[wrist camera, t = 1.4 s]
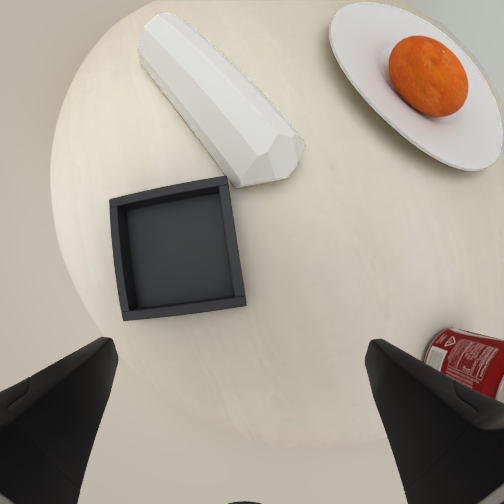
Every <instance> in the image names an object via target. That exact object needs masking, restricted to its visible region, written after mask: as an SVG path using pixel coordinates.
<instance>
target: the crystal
mask: <svg viewBox="0 0 504 504" xmlns="http://www.w3.org/2000/svg"><path fill="white" fill-rule="evenodd" d="M137 50H138V53H139V57H140V60H141V64H142V66H143V68H144V69H145V70H146V71H147V73H148V74H149V75H150V76H151V78H152V79H153V80H154V81H155V83H156V84H157V85H158V87H159V88H160V89H161V90H162V92H163V93H164V94H165V96H166V97H167V98H168V99H169V101H170V102H171V103H172V105H173V106H174V107H175V108H176V110H177V111H178V112H179V114H180V115H181V116H182V118H183V119H184V120H185V121H186V123H187V124H188V125H189V127H190V128H191V129H192V131H193V132H194V133H195V135H196V136H197V137H198V139H199V140H200V141H201V143H202V144H203V145H204V147H205V148H206V149H207V151H208V152H209V153H210V155H211V156H212V157H213V159H214V160H215V161H216V163H217V164H218V165H219V167H220V168H221V169H222V171H223V172H224V173H225V175H226V176H227V178H228V179H229V180H230V182H231V183H232V184H233V186H234V187H235V188H240V187H246V186H252V185H257V184H262V183H267V182H272V181H277V180H283V179H286V178H288V177H289V176H290V174H291V173H292V172H293V170H294V169H295V168H296V166H297V165H298V163H299V160H300V158H301V155H302V153H303V151H304V148H305V146H306V145H305V141H304V139H303V138H302V137H301V136H300V134H299V133H298V132H297V131H296V130H295V129H294V127H293V126H292V125H291V124H290V123H289V122H288V120H287V119H286V118H285V117H284V116H283V115H282V114H281V113H280V111H279V110H278V109H277V108H276V107H275V106H274V105H273V104H272V103H271V102H270V100H269V99H268V98H267V97H266V96H265V95H264V94H263V93H262V92H261V91H260V90H259V89H258V88H257V87H256V86H255V85H254V84H253V83H252V82H251V81H250V80H249V79H248V78H247V77H246V76H245V75H244V74H243V73H242V72H241V71H240V70H239V69H238V68H237V67H236V66H235V65H234V64H233V63H232V62H231V61H230V60H229V59H228V58H227V57H226V56H225V55H224V54H223V53H221V52H220V51H219V50H218V49H217V48H216V47H215V46H214V45H213V44H211V43H210V42H209V41H208V40H207V39H206V38H205V37H203V36H202V35H201V34H200V33H199V32H198V31H196V30H195V29H194V28H193V27H192V26H190V25H189V24H188V23H186V22H185V21H183V20H182V19H180V18H179V17H177V16H176V15H174V14H172V13H157V14H156V15H155V16H154V17H153V18H152V19H151V20H150V21H149V22H148V23H147V24H146V25H145V26H144V27H143V31H142V34H141V38H140V42H139V45H138V49H137Z"/></svg>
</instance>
